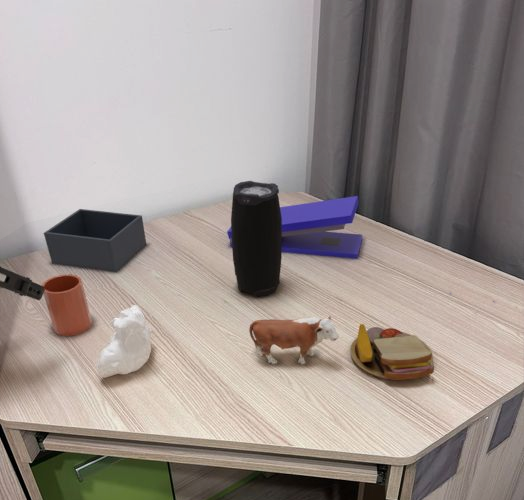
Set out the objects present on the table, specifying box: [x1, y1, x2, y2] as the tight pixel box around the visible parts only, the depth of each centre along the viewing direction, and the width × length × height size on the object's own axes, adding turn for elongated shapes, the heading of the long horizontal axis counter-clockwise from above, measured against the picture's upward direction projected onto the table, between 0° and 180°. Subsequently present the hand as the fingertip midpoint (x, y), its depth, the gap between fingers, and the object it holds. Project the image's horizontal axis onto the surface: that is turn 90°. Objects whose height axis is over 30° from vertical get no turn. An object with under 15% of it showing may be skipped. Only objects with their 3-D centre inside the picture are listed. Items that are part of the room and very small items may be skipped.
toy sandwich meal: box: [349, 323, 435, 381], centre depth 82 cm, size 12×14×5 cm
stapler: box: [226, 195, 363, 260], centre depth 115 cm, size 12×28×10 cm, turn 76°
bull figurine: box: [248, 315, 340, 365], centre depth 82 cm, size 4×13×8 cm, turn 81°
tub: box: [43, 208, 147, 273], centre depth 113 cm, size 15×13×7 cm
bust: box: [96, 304, 153, 378], centre depth 81 cm, size 12×8×11 cm
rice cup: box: [41, 273, 93, 337], centre depth 91 cm, size 6×6×8 cm
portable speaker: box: [230, 180, 283, 298], centre depth 97 cm, size 9×9×20 cm
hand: (22, 286), depth 82 cm, fingers open, 8 cm apart
